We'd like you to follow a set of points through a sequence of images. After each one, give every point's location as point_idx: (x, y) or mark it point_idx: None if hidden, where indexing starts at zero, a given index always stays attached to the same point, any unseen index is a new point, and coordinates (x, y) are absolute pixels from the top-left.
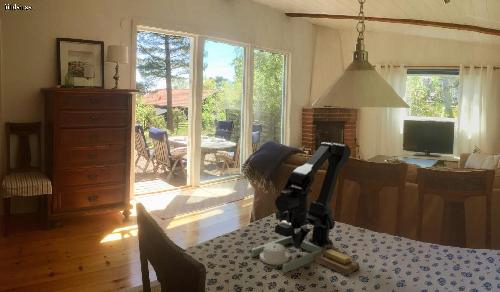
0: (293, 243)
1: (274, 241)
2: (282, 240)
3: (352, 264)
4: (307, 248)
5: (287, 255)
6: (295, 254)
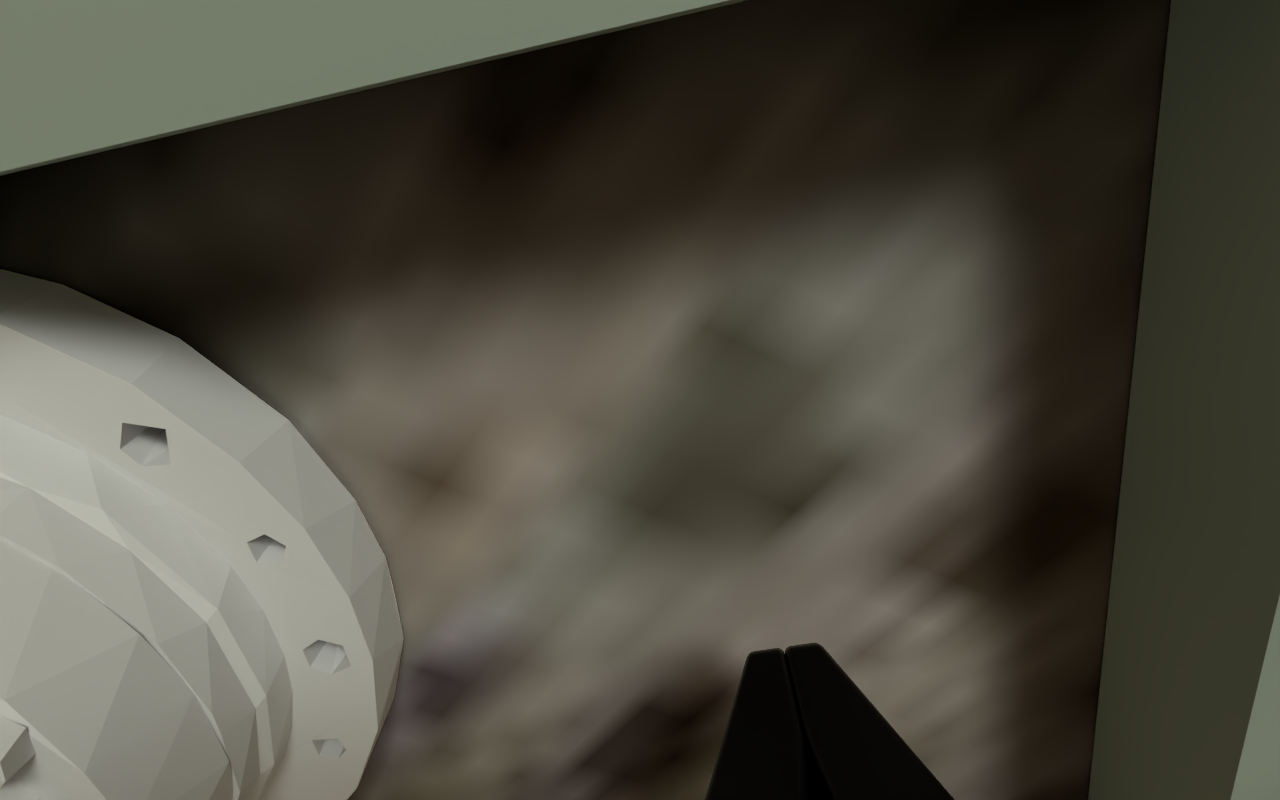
0: (1186, 64)
1: (109, 20)
2: (662, 16)
3: None
4: (1136, 628)
5: (328, 781)
6: (660, 641)
